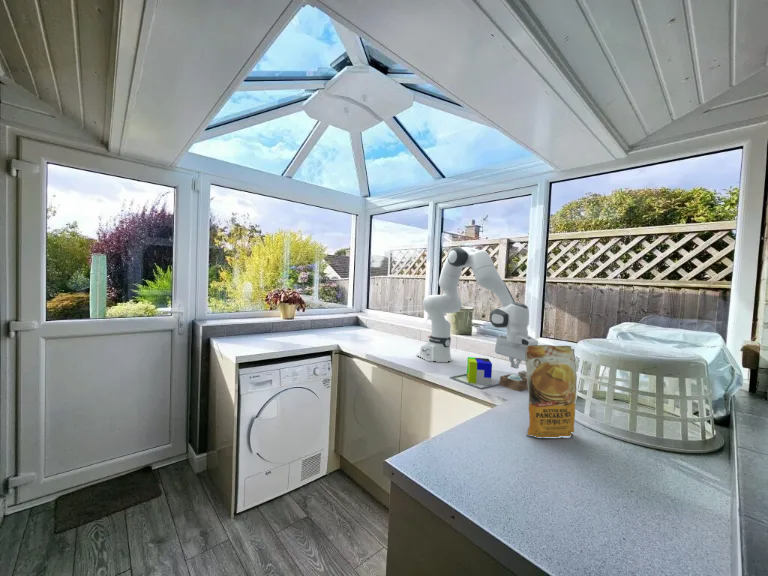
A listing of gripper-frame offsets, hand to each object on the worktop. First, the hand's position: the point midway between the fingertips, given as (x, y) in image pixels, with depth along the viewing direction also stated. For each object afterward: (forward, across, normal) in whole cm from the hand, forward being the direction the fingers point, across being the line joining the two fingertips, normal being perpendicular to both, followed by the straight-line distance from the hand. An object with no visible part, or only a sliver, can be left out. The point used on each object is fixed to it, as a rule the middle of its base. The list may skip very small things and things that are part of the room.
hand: (514, 367), depth 149 cm
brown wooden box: (+8, +1, +3) cm, 9 cm away
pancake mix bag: (+8, +34, -35) cm, 49 cm away
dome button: (+7, +1, 0) cm, 7 cm away
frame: (+9, -13, -10) cm, 19 cm away
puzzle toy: (+9, -13, -9) cm, 18 cm away
